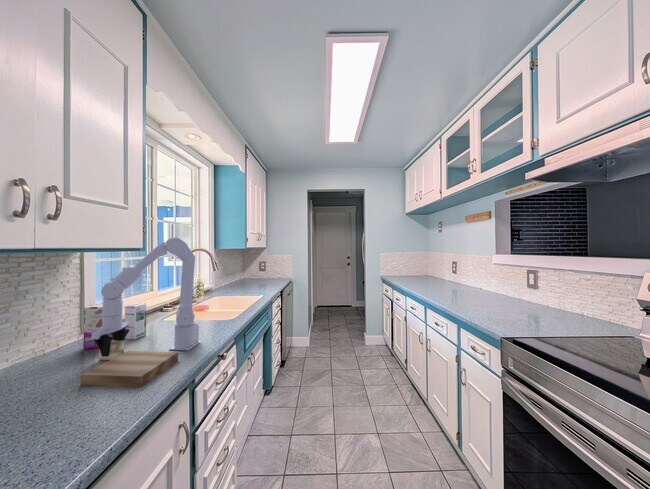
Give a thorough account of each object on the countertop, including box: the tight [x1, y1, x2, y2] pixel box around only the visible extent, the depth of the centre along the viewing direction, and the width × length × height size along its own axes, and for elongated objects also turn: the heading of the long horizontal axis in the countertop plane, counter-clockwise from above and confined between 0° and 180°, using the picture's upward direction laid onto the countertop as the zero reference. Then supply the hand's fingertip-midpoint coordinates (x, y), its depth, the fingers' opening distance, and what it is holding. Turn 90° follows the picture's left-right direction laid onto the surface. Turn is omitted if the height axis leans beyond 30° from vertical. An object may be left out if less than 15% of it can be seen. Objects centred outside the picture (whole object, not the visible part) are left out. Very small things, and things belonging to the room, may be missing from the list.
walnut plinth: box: [80, 350, 179, 388], centre depth 87 cm, size 18×18×3 cm
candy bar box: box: [83, 304, 113, 350], centre depth 108 cm, size 11×5×16 cm, turn 105°
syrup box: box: [124, 302, 147, 340], centre depth 120 cm, size 6×6×14 cm
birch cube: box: [98, 340, 125, 361], centre depth 97 cm, size 5×5×5 cm
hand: (111, 352), depth 97 cm, fingers closed on birch cube, 5 cm apart
